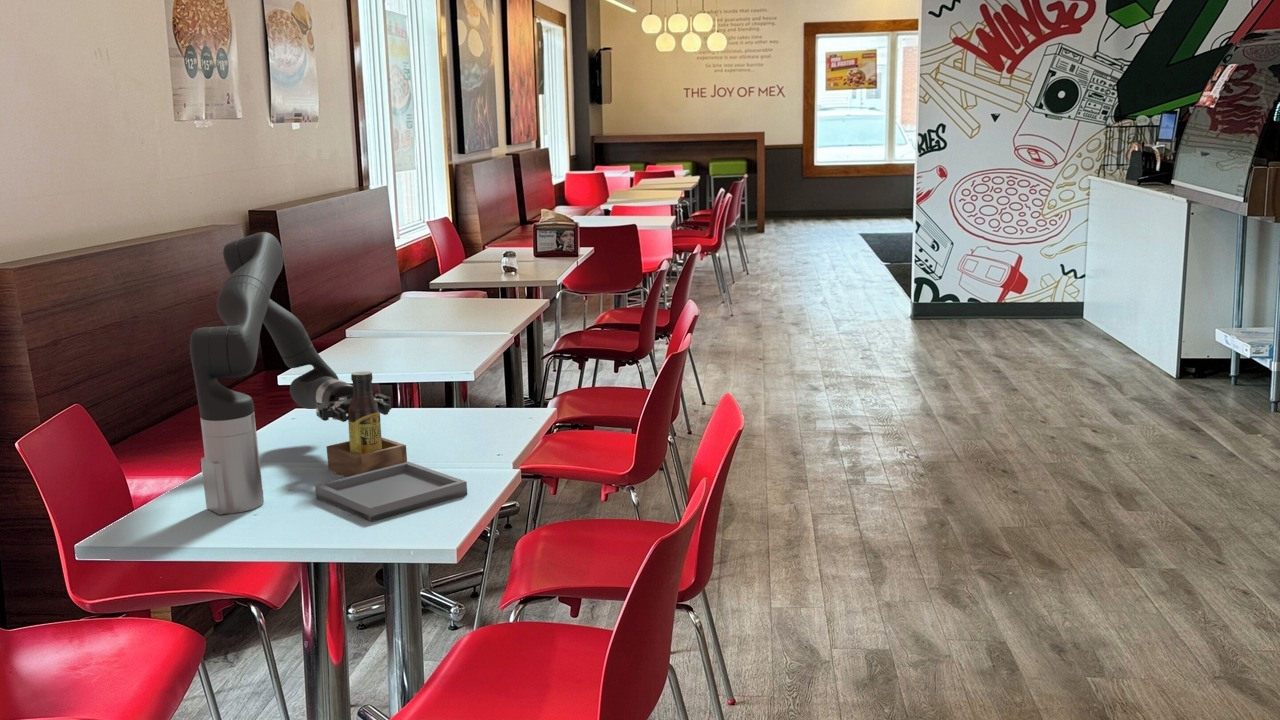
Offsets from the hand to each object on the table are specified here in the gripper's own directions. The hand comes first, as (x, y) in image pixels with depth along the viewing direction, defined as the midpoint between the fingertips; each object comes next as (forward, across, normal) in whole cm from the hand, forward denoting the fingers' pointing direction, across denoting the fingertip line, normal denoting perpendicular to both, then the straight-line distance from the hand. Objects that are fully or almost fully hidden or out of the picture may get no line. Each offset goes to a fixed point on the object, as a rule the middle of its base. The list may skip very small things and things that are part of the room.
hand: (365, 413), depth 224 cm
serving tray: (+18, -3, +12) cm, 22 cm away
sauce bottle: (-2, 0, +12) cm, 12 cm away
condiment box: (-2, 0, +12) cm, 12 cm away
